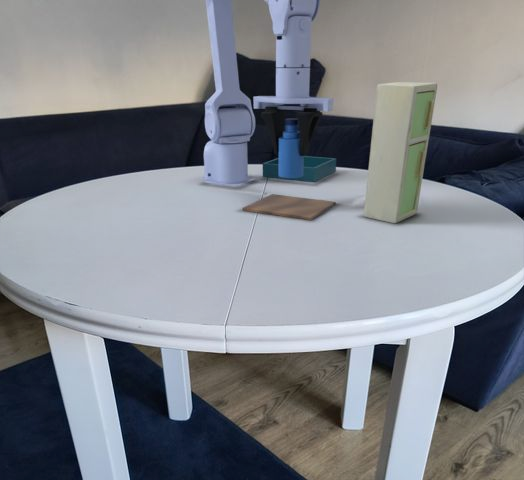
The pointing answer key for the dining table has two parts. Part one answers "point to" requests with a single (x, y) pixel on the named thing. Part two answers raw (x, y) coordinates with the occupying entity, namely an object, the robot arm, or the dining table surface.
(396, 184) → the toy refrigerator
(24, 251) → the dining table surface
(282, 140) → the water bottle
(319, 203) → the brown wooden board
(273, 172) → the teal square tray
